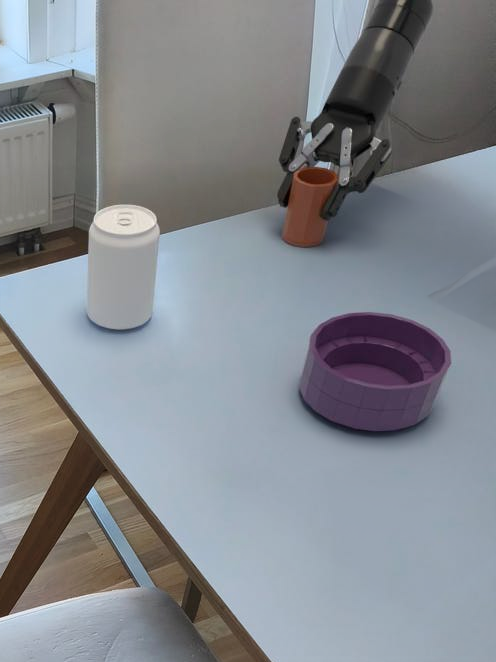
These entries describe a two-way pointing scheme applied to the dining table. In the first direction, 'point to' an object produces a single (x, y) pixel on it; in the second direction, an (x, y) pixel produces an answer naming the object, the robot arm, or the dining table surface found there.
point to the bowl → (374, 371)
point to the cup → (308, 206)
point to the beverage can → (122, 266)
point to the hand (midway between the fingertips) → (303, 210)
